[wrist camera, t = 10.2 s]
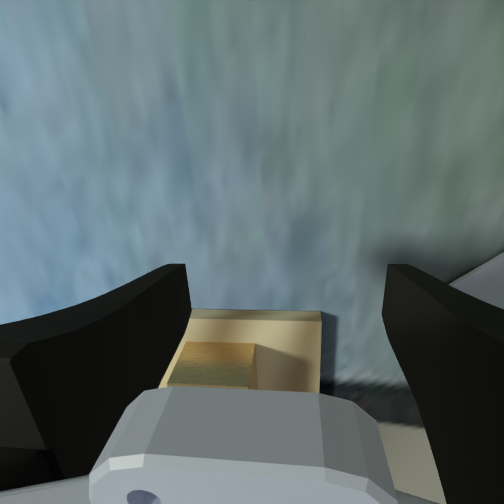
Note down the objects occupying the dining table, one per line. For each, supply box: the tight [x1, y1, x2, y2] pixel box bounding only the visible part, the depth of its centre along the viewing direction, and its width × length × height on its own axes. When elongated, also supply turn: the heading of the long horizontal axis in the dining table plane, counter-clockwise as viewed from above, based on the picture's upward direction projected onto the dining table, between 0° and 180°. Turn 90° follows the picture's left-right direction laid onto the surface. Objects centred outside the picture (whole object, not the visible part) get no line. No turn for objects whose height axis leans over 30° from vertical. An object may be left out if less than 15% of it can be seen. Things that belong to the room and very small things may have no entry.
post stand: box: [158, 309, 322, 393], centre depth 24 cm, size 14×9×4 cm, turn 93°
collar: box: [167, 341, 258, 390], centre depth 23 cm, size 5×5×4 cm
